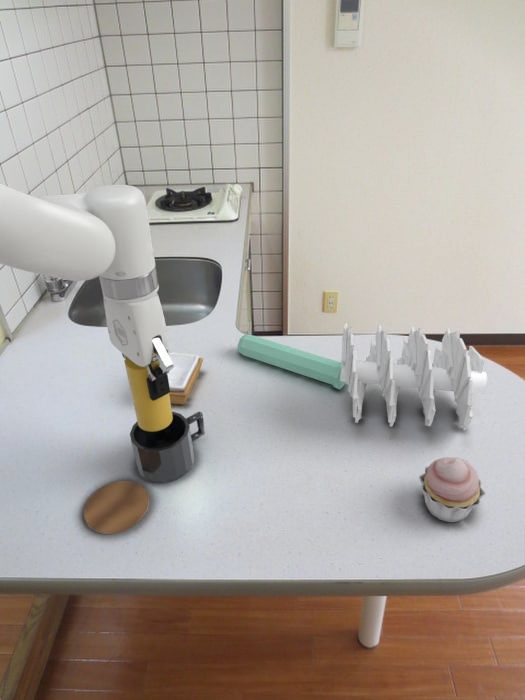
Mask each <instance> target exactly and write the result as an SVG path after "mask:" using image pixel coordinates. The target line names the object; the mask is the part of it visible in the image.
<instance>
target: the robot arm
mask: <svg viewBox="0 0 525 700" xmlns="http://www.w3.org/2000/svg"><path fill="white" fill-rule="evenodd" d="M150 226H151V225H150V220H149V213H148V207H147V201H146V197H145V195H144V193H143V191H141V189H140V188H138V187H136V186H134V185H131V184H124V183H123V184H121V183H120V184H119V183H118V184H107V185H103V186H99V187H96V188H94V189H92V190H90V191H86V192H85V191H84V192H78V193H66V194H50V195H49V194H48V195H44V196H43V195H42V196H38V197H36V196H33V195H30V194H27V193H25V192H22V191H20V190H18V189H15V188H12V187H10V186H8V185H5V184H3V183H0V265H3V266H6V267H10V268H13V269H17V270H21V271H26V272H29V273H33V274H38V275H42V276H47V277H51V278H57V279H60V280H67V281H72V282H83V281H84V282H85V281H90V280H94V279H96V278H99V282H100V288H101V291H102V297H103V298H102V299H103V307H104V315H105V321H106V326H107V331H108V337H109V340H110V343H111V345H112V346H113V347H114V348H116V349H117V350H118V352H120V353H121V356H122V358H123V359H124V362H125V359H126V357H128V358H129V359H130V360H131V361H133V362H134V363H135V364H137V365H139V366H141V367H145V368H146V371H147V374H148V376H149V377H148V378H147V379H146V380H147V385H148V390H149V395H150V399H151V400H152V401H155V400H157V399H158V398H160V397H162V396H164V395H166V394H168V393H169V392H170V387H169V381H168V375H167V374H168V373H169V371H170V370H171V369H172V368H174V365H173V363H172V361H171V359H170V357H169V352H170V341H169V334H168V329H167V324H166V319H165V315H164V312H163V308H162V304H161V300H160V297H159V294H158V292H159V290H160V289H159V288H160V285H159V279H158V272H157V265H156V259H155V254H154V253H155V252H154V247H153V239H152V234H151V227H150ZM153 353H155V355H154V356H153ZM155 361H159V364H160V366H159V367H157V368H155V369H154V370H153V368H152V365H151V363H153V362H155ZM124 366H125V367H126V365H125V364H124ZM125 371H126V372H127V370H126V369H125ZM127 379H128V378H127ZM128 381H129V379H128Z"/></svg>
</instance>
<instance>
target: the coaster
mask: <svg viewBox="0 0 525 700" xmlns="http://www.w3.org/2000/svg"><path fill="white" fill-rule="evenodd" d="M149 507H150V497H149V494H148V491H147V490H146V488H145V487H144V486H142V485H141V484H139V483H137V482H135V481H131V480H119V481H118V480H117V481H113V482H111V483H110V482H109V483H108V484H105V485H103V486H102V487H100V488H99V489H97V490H96V491H95V492H93V493H92V495H90V496H89V498H88V499H87V501H86V503H85V504H84V508H83V517H84V522H85V523H86V525H87V527H88V528H89V529H90V530H92V531H93V532H96V533H97V534H102V535H116V534H121V533H123V532H126V531H129V530H130V529H132V528H134V527H135V526H136V525H138V524H139V523H140V522H141V521H142V520H143V519H144V517H145V516H146V514H147V512H148V510H149Z"/></svg>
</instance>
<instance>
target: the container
mask: <svg viewBox="0 0 525 700" xmlns="http://www.w3.org/2000/svg"><path fill="white" fill-rule="evenodd" d="M237 351H238V352H239V354H241V355H242V356H244V357H246V358H250V359H253V360H256V361H260V362H262V363H265V364H268V365H271V366H273V367H277V368H280V369H283V370H286V371H290V372H292V373H295V374H299V375H301V376H304V377H307V378H310V379H313V380H316V381H320V382H322V383H325V384H329V385H331V386H332V387H333V388H335V389H337V390H338V391H339V390H342V389H343V387H344V386H345V385H346V382H341V381H340V375H341V361H337V360H334V359H331V358H328V357H324V356H322V355H318V354H314V353H311V352H307V351H305V350H301V349H298V348H295V347H291V346H288V345H285V344H282V343H279V342H275V341H272V340H268V339H266V338H263V337H259V336H255V335H252V334H248V333H247V334H243V335H242V336H241V337H240V338H239V340H238V343H237Z"/></svg>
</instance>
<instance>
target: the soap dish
mask: <svg viewBox="0 0 525 700" xmlns="http://www.w3.org/2000/svg"><path fill="white" fill-rule="evenodd" d="M169 357H170V359H171V361H172V363H173V365H174V368H172V369H171V370H170V371H169V373H168V374H167V375H168V381H169V387H170V392H169V397H170V403H171V405H172V404H173V405H186V402H187V400H188V398H189V396H190V394H191V392H192V389H193V387H194V386H195V383H196V381H197V379H198V376H199V374H200V371H201V368H202V365H203V360H204V358H203V357H199V355H198V354H192V353H181V352H171V351H169Z"/></svg>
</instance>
